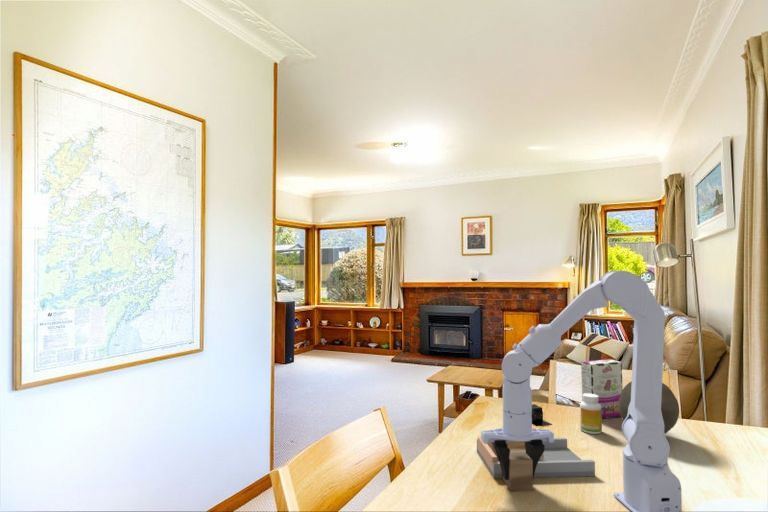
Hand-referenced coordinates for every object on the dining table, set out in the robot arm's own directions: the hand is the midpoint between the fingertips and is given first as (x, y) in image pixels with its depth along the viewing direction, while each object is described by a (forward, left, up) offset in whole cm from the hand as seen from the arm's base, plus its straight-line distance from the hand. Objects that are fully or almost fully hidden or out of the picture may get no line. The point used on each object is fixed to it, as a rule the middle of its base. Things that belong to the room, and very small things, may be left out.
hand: (517, 477), depth 90 cm
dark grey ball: (+24, -44, -2) cm, 50 cm away
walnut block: (0, 0, -2) cm, 2 cm away
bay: (+10, -7, -2) cm, 12 cm away
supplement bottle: (+29, -31, -2) cm, 42 cm away
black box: (+38, -19, -2) cm, 43 cm away
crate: (+10, -3, 0) cm, 10 cm away
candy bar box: (+41, -41, -2) cm, 58 cm away
